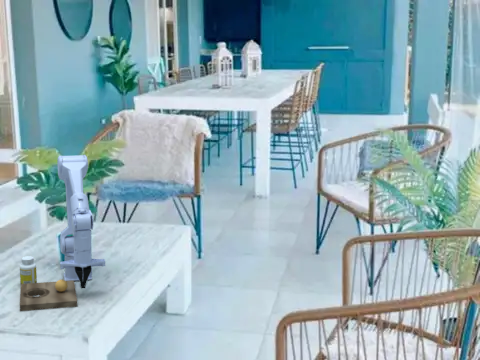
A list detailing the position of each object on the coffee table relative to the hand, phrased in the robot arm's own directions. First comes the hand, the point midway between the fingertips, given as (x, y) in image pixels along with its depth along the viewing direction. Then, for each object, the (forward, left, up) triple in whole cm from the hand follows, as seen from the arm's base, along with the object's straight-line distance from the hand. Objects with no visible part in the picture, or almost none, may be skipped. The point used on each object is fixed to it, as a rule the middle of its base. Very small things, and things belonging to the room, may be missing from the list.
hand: (83, 287), depth 219 cm
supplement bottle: (+18, -13, -3) cm, 22 cm away
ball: (+7, 0, +1) cm, 7 cm away
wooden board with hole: (+11, 0, -3) cm, 12 cm away
